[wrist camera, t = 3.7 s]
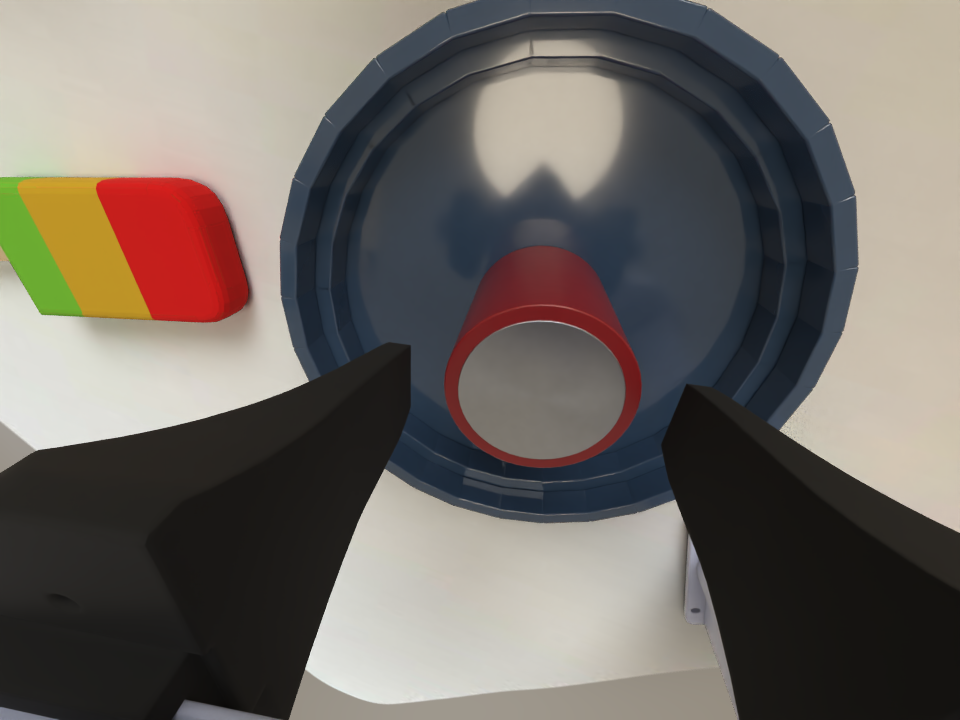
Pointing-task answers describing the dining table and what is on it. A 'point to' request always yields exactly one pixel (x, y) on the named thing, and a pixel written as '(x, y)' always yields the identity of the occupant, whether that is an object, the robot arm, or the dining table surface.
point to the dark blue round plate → (575, 223)
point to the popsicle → (122, 248)
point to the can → (542, 363)
